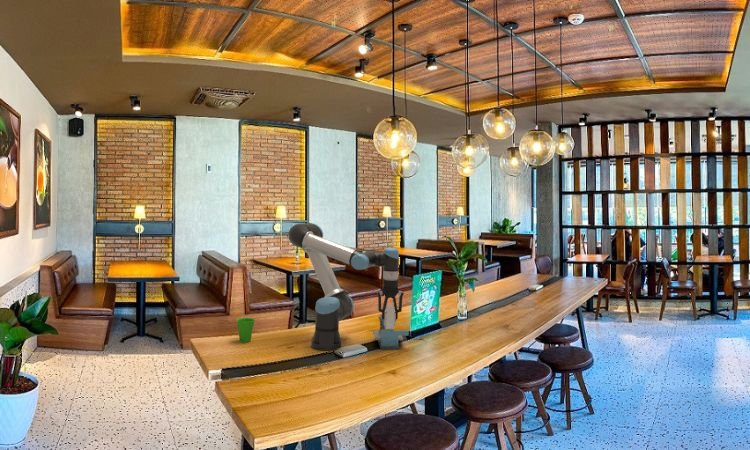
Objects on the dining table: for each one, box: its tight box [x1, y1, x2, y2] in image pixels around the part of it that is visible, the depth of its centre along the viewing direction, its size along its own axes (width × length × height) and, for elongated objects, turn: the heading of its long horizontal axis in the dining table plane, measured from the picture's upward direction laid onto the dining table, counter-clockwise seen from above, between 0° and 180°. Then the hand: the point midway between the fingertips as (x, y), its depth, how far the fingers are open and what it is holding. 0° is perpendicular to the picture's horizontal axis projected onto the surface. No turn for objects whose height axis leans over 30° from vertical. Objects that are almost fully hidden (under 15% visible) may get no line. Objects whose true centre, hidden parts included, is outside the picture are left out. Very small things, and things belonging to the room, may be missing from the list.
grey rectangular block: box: [385, 304, 395, 330], centre depth 236 cm, size 4×4×12 cm
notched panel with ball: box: [372, 326, 410, 351], centre depth 240 cm, size 16×16×11 cm
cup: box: [236, 317, 256, 344], centre depth 238 cm, size 9×9×11 cm
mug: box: [377, 313, 397, 330], centre depth 259 cm, size 12×9×11 cm
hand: (389, 325), depth 236 cm, fingers closed on grey rectangular block, 4 cm apart
